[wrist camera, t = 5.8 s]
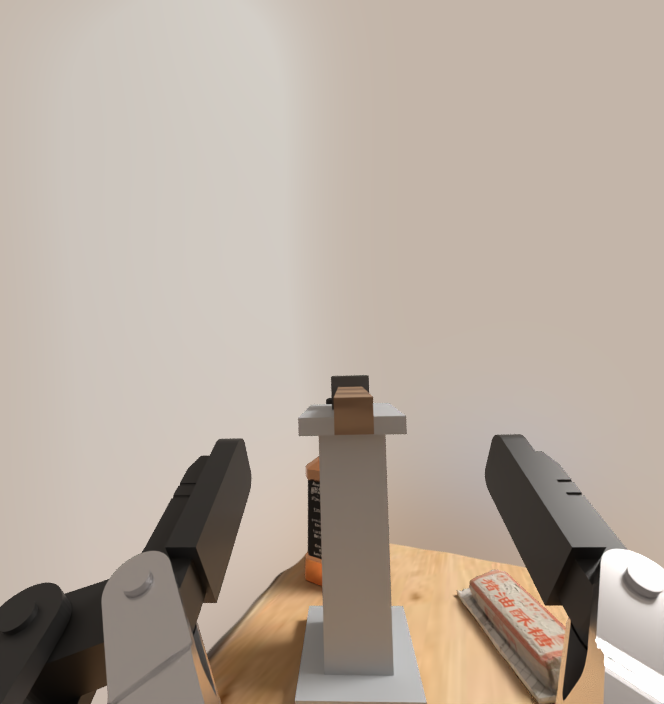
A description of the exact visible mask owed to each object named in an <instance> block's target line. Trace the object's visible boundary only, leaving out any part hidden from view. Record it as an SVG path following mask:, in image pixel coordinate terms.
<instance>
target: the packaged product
mask: <svg viewBox="0 0 664 704" xmlns="http://www.w3.org/2000/svg"><path fill="white" fill-rule="evenodd" d="M457 595H458V597H459V598H460V599H461V601H462V602H463V604H464V605H465V606H466V607H467V608H468V610H469V611H470V612H471V614H472V615H473V616H474V618H475V619H476V620H477V622H478V623H479V625H480V626H481V627H482V629H483V630H484V632H485V633H486V634H487V636H488V637H489V638H490V640H491V641H492V643H493V645H494V646H495V647H496V649H497V650H498V651H499V653H500V654H501V655H502V656H503V657H504V659H505V660H506V661H507V662H508V663H509V665H510V666H511V668H512V669H513V670H514V672H515V673H516V674H517V675H518V677H519V678H520V679H521V681H522V682H523V684H524V685H525V686H526V688H527V689H528V690H529V692H530V693H531V694H532V696H533V697H534V698H535V699H536V701H537V702H538V703H539V704H550V703H556V697H557V690H558V682H559V674H560V667H561V659H562V652H563V644H564V636H565V629H566V627H565V626H564V625H563V624H562V623H560V622H559V621H558V620H557V619H556V618H555V617H554V616H553V615H552V614H551V613H550V612H549V611H548V610H547V609H546V608H544V607H543V606H542V605H541V604H540V603H539V602H538V601H537V600H536V599H535V598H534V597H533V596H531V595H530V594H529V593H528V592H527V591H526V590H525V589H524V588H523V587H521V586H520V585H519V584H518V583H517V582H516V581H515V580H514V579H513V578H512V577H511V576H510V575H509V574H508V573H506V572H505V571H499V570H491V571H489V572H488V573H485V574H483V575H481V576H477V577H475V578H474V579H472V580H471V581H470V586H469V588H468V589H463V590H462V591H457Z"/></svg>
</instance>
